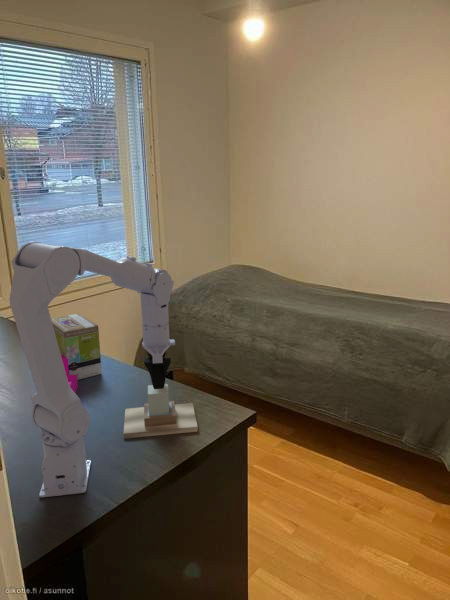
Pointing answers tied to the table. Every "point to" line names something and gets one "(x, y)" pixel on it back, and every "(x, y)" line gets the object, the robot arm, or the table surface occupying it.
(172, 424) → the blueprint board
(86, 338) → the tea box
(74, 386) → the toy block
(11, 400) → the table surface
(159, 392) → the sage block
